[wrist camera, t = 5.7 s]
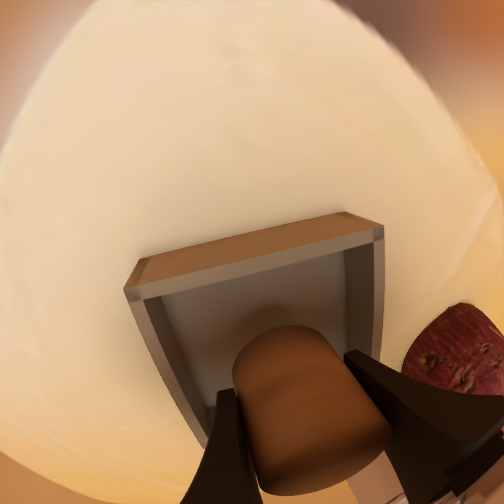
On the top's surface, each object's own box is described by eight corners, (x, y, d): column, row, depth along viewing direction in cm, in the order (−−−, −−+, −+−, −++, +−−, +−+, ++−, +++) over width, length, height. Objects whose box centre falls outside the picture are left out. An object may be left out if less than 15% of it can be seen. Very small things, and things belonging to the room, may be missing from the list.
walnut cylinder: (328, 386, 13) (378, 466, 8) (241, 410, 12) (266, 505, 7) (330, 312, 11) (406, 398, 6) (222, 339, 11) (247, 455, 6)
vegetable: (403, 382, 25) (447, 493, 13) (375, 350, 20) (437, 511, 8) (478, 327, 22) (537, 429, 10) (473, 275, 17) (569, 413, 5)
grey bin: (350, 364, 18) (374, 396, 14) (199, 408, 16) (203, 448, 13) (344, 211, 14) (383, 225, 11) (139, 259, 13) (123, 288, 10)
